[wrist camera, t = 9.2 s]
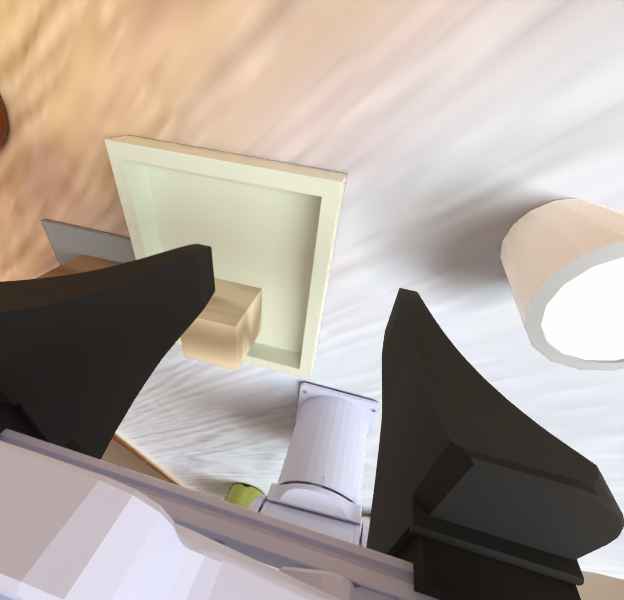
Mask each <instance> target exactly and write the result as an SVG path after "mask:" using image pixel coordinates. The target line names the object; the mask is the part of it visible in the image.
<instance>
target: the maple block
mask: <svg viewBox="0 0 624 600" xmlns="http://www.w3.org/2000/svg"><path fill="white" fill-rule="evenodd" d="M214 281H215V292H214V294H213V296H212V297H211V299H210V301H209V302H208V304H207V305H206V307H205V308H204V310H203V311H202V312H201V314H200V315H199V316H198V317H197V318H196V320H195V321H194V322H193V323H192V324H191V325H190V326H189V328H188V329H187V330H186V331H185V332H184V333H183V335H182V336H181V337H180V338H181V343H182V348H183V353H184V356H185V357H188V358H192V359H196V360H199V361H203V362H207V363H210V364H214V365H218V366H221V367H225V368H229V369H232V370H236V371H238V369H239V367H240V366H241V364H242V362H243V361H244V359H245V357H246V355H247V354H248V352H249V350H250V348H251V347H252V345H253V343H254V342H255V340H256V338H257V336H258V335H259V333H260V331H261V317H262V289H261V288H257V287H252V286H248V285H244V284H240V283H235V282H231V281H227V280H222V279H218V278H214Z"/></svg>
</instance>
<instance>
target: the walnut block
mask: <svg viewBox="0 0 624 600" xmlns="http://www.w3.org/2000/svg"><path fill="white" fill-rule="evenodd" d="M119 264H123V263H122V262H117V261H112V260H107V259H103V258H98V257H93V256H88V255H83V254H82V255H80V256H78V257H76V258H75V259H73V260H71V261H69V262H67V263H65V264H63V265H61V266H59V267H57V268H55V269H53V270H51V271H49V272H47V273H45V274H44V275H42V276H40V277H38V278H36V279H40V278H47V277H55V276H62V275H70V274H76V273H82V272H87V271H92V270H98V269H102V268H107V267H111V266H115V265H119Z"/></svg>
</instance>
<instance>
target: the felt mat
mask: <svg viewBox="0 0 624 600" xmlns="http://www.w3.org/2000/svg"><path fill="white" fill-rule="evenodd" d="M41 222H42V224H43V227H44V229H45V231H46V234H47V236H48V238H49V240H50V243H51V245H52V247H53V250H54V252H55V254H56V257H57V259H58V261H59V263H60V266H61V265H63V264H65V263H67V262H69V261H71V260H73V259H75V258H76V257H78V256H80V255H82V254H83V255H88V256H93V257H98V258H103V259H107V260H112V261H117V262H122V263H126V262H130V261H134V260H136V258H135V254H134V250H133V247H132V243H131V239H130V238H128V237H124V236H119V235H115V234H110V233H106V232H101V231H97V230H92V229H88V228H83V227H79V226H75V225H70V224H66V223H61V222H57V221H52V220H48V219H44V220H41Z"/></svg>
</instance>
